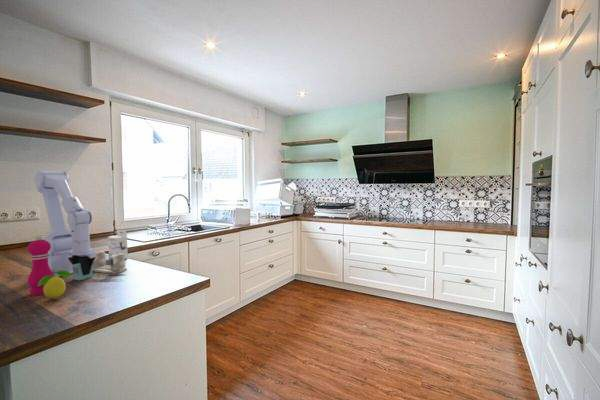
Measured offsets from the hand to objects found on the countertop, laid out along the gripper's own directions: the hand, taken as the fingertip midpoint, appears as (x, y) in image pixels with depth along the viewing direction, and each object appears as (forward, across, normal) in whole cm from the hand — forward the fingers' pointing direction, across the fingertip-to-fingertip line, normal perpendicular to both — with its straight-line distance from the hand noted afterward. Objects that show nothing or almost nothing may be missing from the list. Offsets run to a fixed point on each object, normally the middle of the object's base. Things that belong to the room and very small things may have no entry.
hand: (82, 273), depth 115 cm
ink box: (+2, +15, -25) cm, 29 cm away
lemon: (+2, -15, +17) cm, 23 cm away
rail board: (+2, 0, -10) cm, 11 cm away
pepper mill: (+2, -3, +15) cm, 15 cm away
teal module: (+2, 0, 0) cm, 2 cm away
